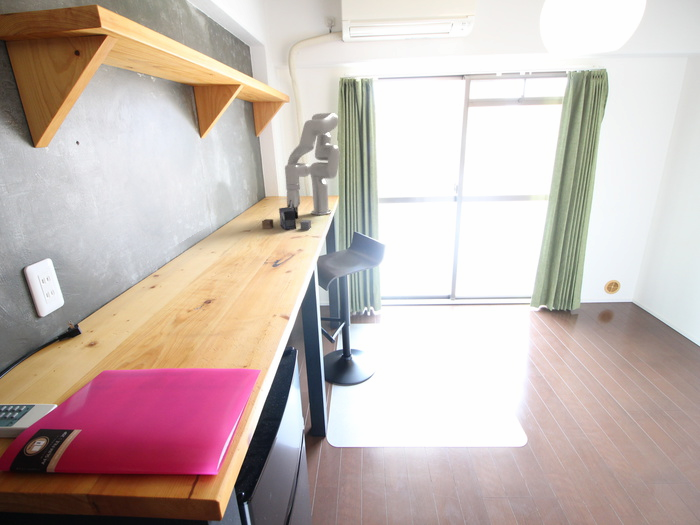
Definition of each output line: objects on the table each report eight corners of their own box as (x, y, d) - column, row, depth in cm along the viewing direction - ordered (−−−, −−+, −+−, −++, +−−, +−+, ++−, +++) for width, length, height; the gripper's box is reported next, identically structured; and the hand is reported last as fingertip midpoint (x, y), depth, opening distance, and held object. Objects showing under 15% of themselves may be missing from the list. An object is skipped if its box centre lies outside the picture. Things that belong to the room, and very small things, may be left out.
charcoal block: (303, 227, 203) (302, 220, 202) (311, 228, 203) (310, 220, 201) (300, 230, 199) (300, 222, 198) (308, 230, 198) (308, 222, 197)
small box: (279, 226, 208) (278, 207, 205) (291, 224, 211) (289, 206, 207) (285, 230, 199) (283, 211, 195) (296, 228, 202) (295, 210, 198)
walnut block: (266, 227, 208) (265, 219, 206) (273, 227, 207) (272, 219, 205) (262, 229, 204) (261, 221, 202) (270, 229, 203) (269, 221, 201)
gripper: (291, 185, 217) (293, 215, 223) (282, 188, 204) (284, 221, 210) (303, 185, 216) (305, 216, 222) (294, 189, 202) (297, 221, 208)
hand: (295, 218), depth 216 cm, fingers closed
